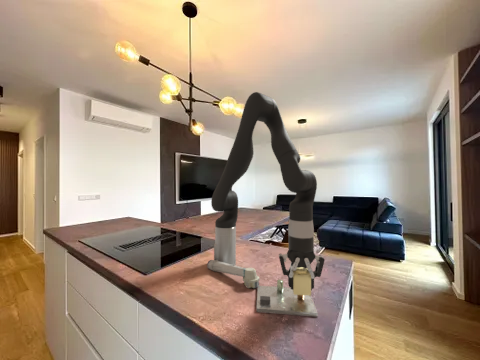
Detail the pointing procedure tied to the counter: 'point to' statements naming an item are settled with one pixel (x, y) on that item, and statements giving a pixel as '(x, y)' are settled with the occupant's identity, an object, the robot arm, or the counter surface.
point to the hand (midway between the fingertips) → (301, 288)
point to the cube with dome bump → (301, 282)
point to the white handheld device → (236, 272)
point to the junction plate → (284, 301)
